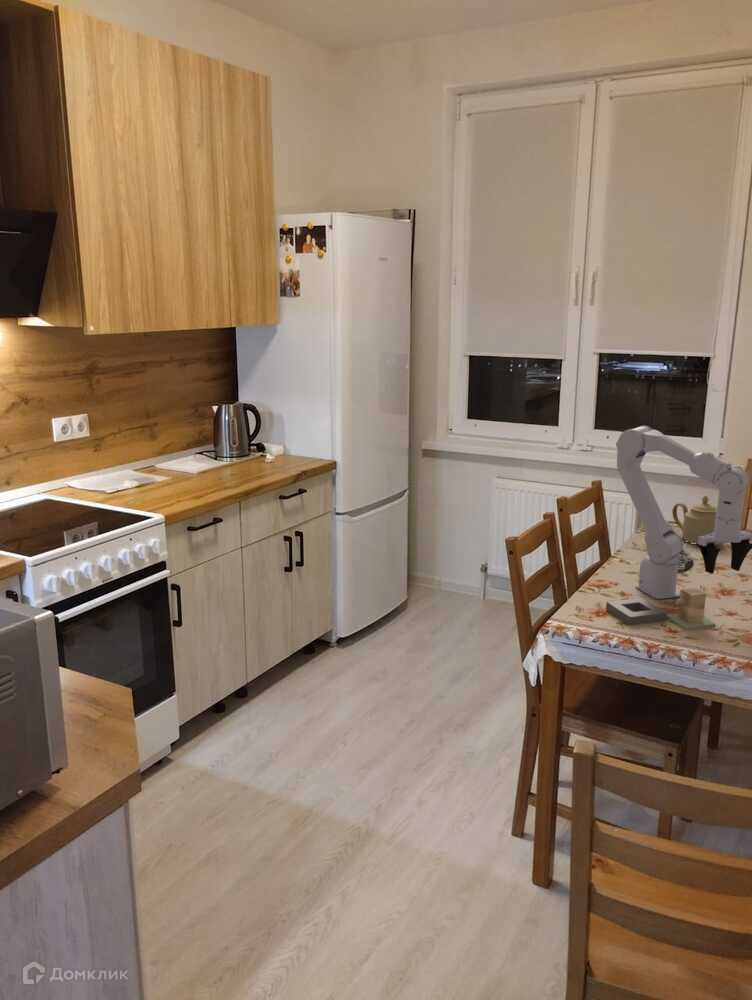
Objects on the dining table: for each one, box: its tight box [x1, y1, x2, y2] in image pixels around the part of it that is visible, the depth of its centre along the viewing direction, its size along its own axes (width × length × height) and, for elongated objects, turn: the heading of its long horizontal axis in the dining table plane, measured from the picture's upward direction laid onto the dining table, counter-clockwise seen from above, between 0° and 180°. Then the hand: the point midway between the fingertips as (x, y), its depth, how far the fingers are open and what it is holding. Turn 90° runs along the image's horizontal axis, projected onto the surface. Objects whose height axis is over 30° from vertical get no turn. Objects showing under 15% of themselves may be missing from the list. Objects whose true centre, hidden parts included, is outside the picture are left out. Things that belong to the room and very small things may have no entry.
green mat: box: [666, 612, 716, 631], centre depth 184 cm, size 8×8×1 cm
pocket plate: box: [605, 597, 668, 626], centre depth 188 cm, size 10×10×2 cm
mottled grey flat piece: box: [678, 548, 694, 573], centre depth 230 cm, size 28×2×10 cm
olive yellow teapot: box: [671, 494, 717, 544], centre depth 247 cm, size 15×11×15 cm
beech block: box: [677, 587, 707, 623], centre depth 183 cm, size 4×4×7 cm
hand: (722, 570), depth 191 cm, fingers open, 7 cm apart
